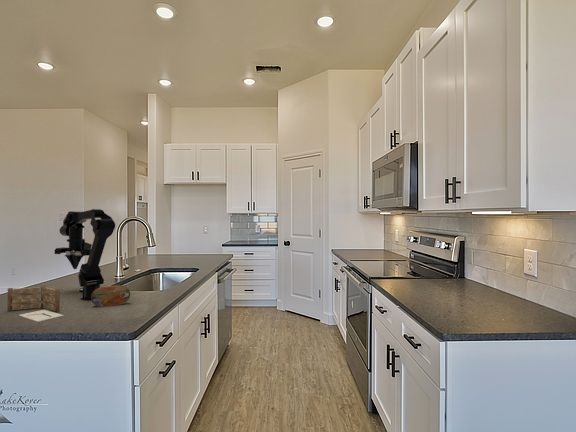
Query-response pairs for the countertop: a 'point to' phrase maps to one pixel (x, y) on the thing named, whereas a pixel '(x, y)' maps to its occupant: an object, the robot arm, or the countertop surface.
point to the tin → (110, 296)
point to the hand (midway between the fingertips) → (75, 269)
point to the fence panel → (23, 298)
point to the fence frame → (50, 298)
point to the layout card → (40, 315)
